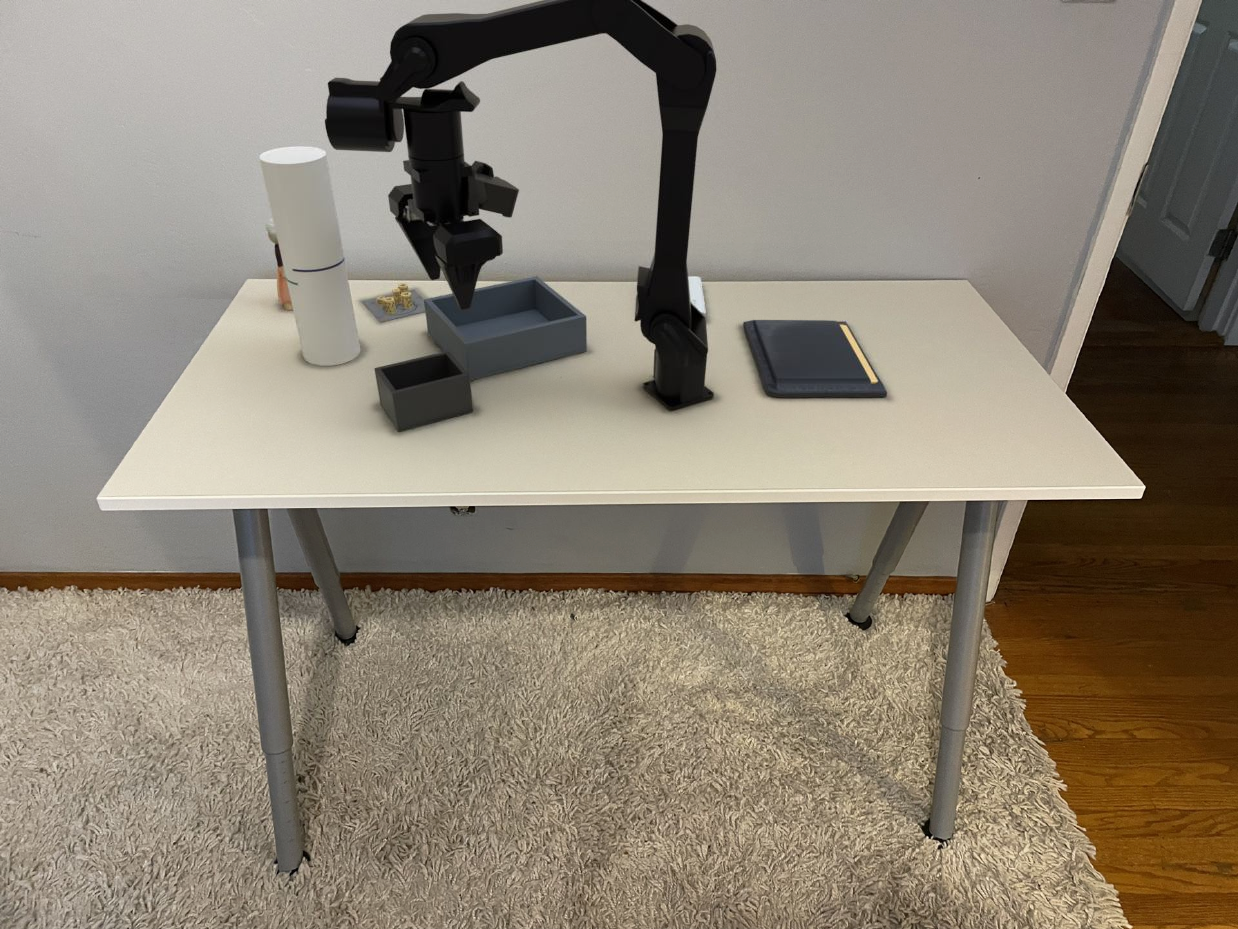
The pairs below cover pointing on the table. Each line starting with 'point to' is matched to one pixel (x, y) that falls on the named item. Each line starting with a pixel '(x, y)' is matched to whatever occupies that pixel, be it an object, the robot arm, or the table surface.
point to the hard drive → (697, 293)
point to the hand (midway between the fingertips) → (449, 293)
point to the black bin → (424, 390)
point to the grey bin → (506, 327)
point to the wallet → (811, 359)
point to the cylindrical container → (312, 252)
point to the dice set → (396, 304)
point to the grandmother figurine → (279, 268)
